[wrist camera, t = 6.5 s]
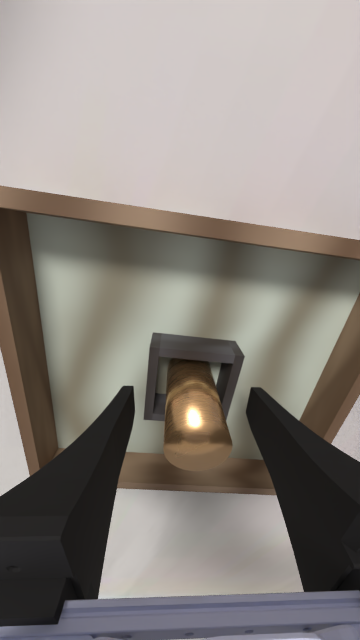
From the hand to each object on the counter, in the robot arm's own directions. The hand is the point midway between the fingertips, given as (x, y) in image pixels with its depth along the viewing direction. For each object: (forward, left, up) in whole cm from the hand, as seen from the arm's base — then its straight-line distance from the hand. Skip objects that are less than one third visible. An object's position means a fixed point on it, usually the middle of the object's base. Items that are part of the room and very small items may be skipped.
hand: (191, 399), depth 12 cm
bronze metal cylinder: (0, 0, -3) cm, 3 cm away
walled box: (0, 0, -3) cm, 3 cm away
